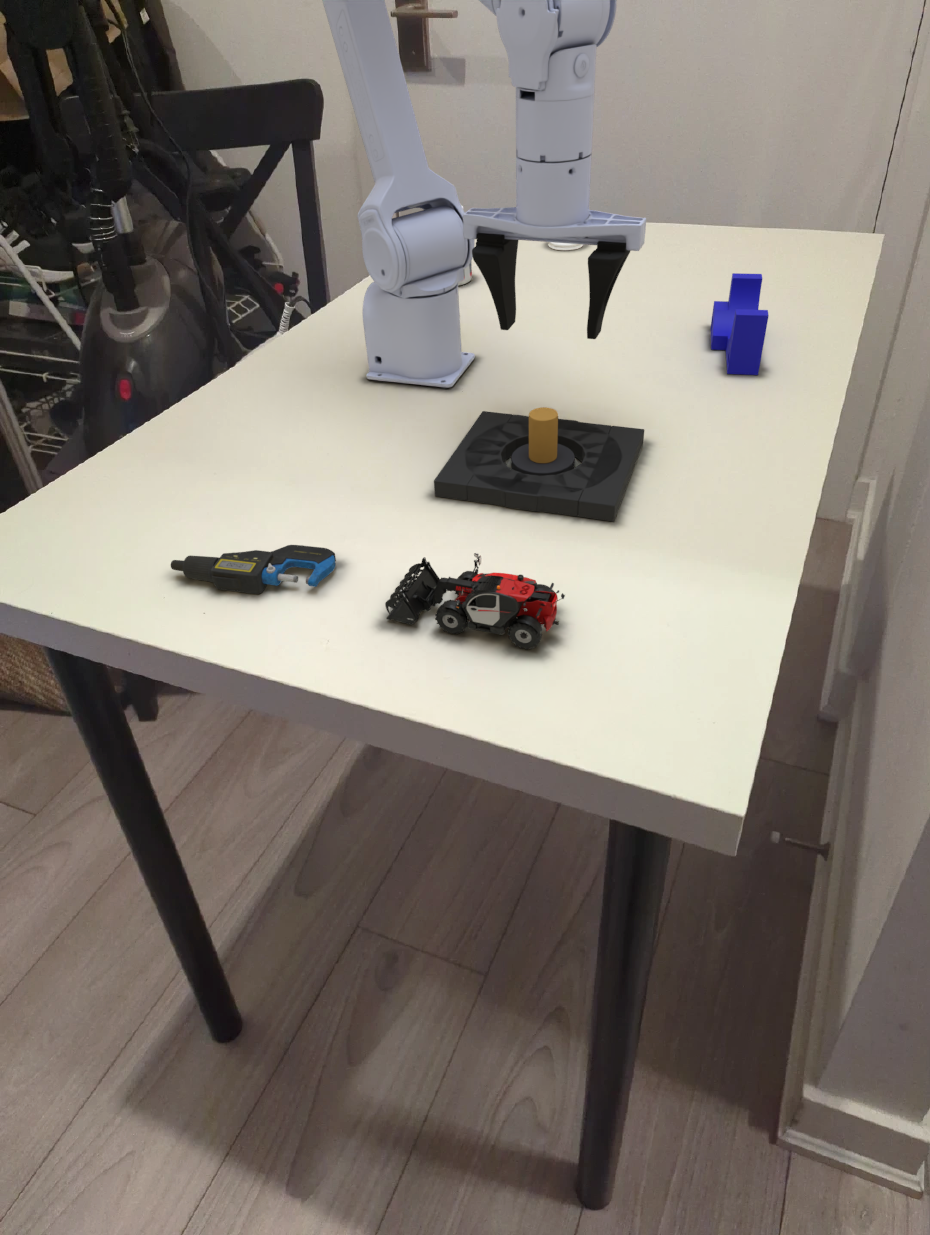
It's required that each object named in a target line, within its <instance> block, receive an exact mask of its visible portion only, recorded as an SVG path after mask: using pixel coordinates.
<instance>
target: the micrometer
mask: <svg viewBox="0 0 930 1235" xmlns="http://www.w3.org/2000/svg"><path fill="white" fill-rule="evenodd" d="M336 562H337V558H336V553H335V551H333V550H332V549H329V548H327V547H320V546H310V545H301V544H288V545H285V546H283V547H279V548H277V549H275V550H271V551H266V550H258V549H254V550H247V551H238V552H225V553H222V554H221V555H220V557H219V556H218V557H217V556H207V555H205V556H203V555H187V556H186V557H185V558H184V559H182V560H181V559H173V560H171V563H170V569H171V570H173V571H178V572H182V573H183V575H184V576H185V578H187V579H193V580H198V581H203V582H207V583H208V582H209V583H213V586H215V589H216V590H221V591H229V592H238V593H245V594H253V595H260V594H262V593H263V592H264V591H265V589H266V587H267V586H268V585H269V586H276V587H277V586H279V585H280V584H281V583H282V582H288V583H298V582H299V576H298V575H295V574H286V573H285V572H286V571H287V570H288V569H290V568H302V569H309V570H313V571H312V573H311V574H310V576H307V577H305V584H306V585H307V586H308V587H314V588H315V587H316V588H317V587H318V585H319V584H320V583H321V581H323V580H324V579H325V578H327V577H328V576H329V575H330V574H332V573H333V572H334V570H336V564H337V563H336Z"/></svg>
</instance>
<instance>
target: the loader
mask: <svg viewBox="0 0 930 1235" xmlns="http://www.w3.org/2000/svg"><path fill="white" fill-rule="evenodd" d="M473 556H474V557H475V558H476V559H473V563H474V567H473V570H465V571H463V572H462V573H461V574H460V575H459V576H457V578H455V577H451V576H448V577H442V576H441V577H439V575H438V574H437V572H436V571H435V570H434V568H433V567H432V565H431V562H430V561H427V558H426V557H425V556H424V557H423V558H422V559H421V563H419V562H418V563H415V564H413V565H412V566H410V567H409V568H408V572H406V573H405V574H404V577H403V579H401V580H400V582H399V584H398V586H396V587H395V589H394V592H392V593H391V594H390V597H389V599H387V600H386V602H385V609H386V611H387V613H388V615H387V617H386V620H389V621H392V620H393V621H396V622H400V623H402V624H407V625H414V624H415V623H416V622H417V621H418V620H419V617H420V614H421V613H422V612H428V611H430V610H431V607H432V606H433V607H436V605H440V606H439V607H438V608H437V610H436V613H435V618H434V621H436V625H438V628H439V629H442V631H443V632H447V633H448V634H451V635H456V634H460V633H462V632H463V631H465V630H466V628H467V626H468V629H470V630H476V631H479V632H486V633H489V634H495V635H501V636H503V635H504V634H506V631H508V632H507V634H506V635H508V640H510V641H511V642H510V643H511V644H514V645H515V647H519V649H525V650H533V649H534V648H536V647H537V646H538V645H539V644H540V642H541V641H542V636H543V634H542V632H543V628H544V629H545V632H546V633H547V632H548V631H550V629H551V628H552V627H553V626H554V625H555V626H559V624H560V620H556V617H557V613H558V605H557V604H558V602H559V601H561V600H564V599H565V597H566V594H564V593H563V592H562V593H561V595H560V599H559V596H558V594H559V593H560V590H557V591H556V592H555V590H554V589H553V588H554V585H555V583H554V582H551V584H550V586H549V585H546V584H542V583H538V582H537V581H536V579H532V578H530V577H526V576H524V574H512V573H505V572H490V573H489V572H488V573H484V572H480V573H479V568H480V566H481V564H482V555H479V553H477V552H474V553H473ZM422 568H423V569H422ZM447 592H454V594H455V595H457V597H456V598H455V599H454V600H453V599H448V600H443V597H444V595H445V594H446V593H447ZM442 602H443V603H442ZM441 603H442V604H441ZM389 608H390V609H392V610H391V611H390V609H389ZM525 609H526V610H525ZM542 625H543V627H542Z"/></svg>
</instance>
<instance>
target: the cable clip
mask: <svg viewBox="0 0 930 1235" xmlns="http://www.w3.org/2000/svg"><path fill="white" fill-rule="evenodd" d="M730 280H731V281H730V286H729V293H728V294H729V295H728V301H727V300H726V301H724V300H722V301H721V300H714V301H713V305H712V313H711V320H710V322H711V323H710V350H712V351H713V350H716V351H725V363H726V375H746V376H759V371H760V366H761V360H762V355H763V350H764V344H765V339H766V332H767V327H768V322H769V317H770V316H769V310H768V309H759V307H760V305H759V304H760V298H761V292H762V291H761V290H762V285H763V284H762V283H763V274H762V273H737V272H736V273H731V279H730Z"/></svg>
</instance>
